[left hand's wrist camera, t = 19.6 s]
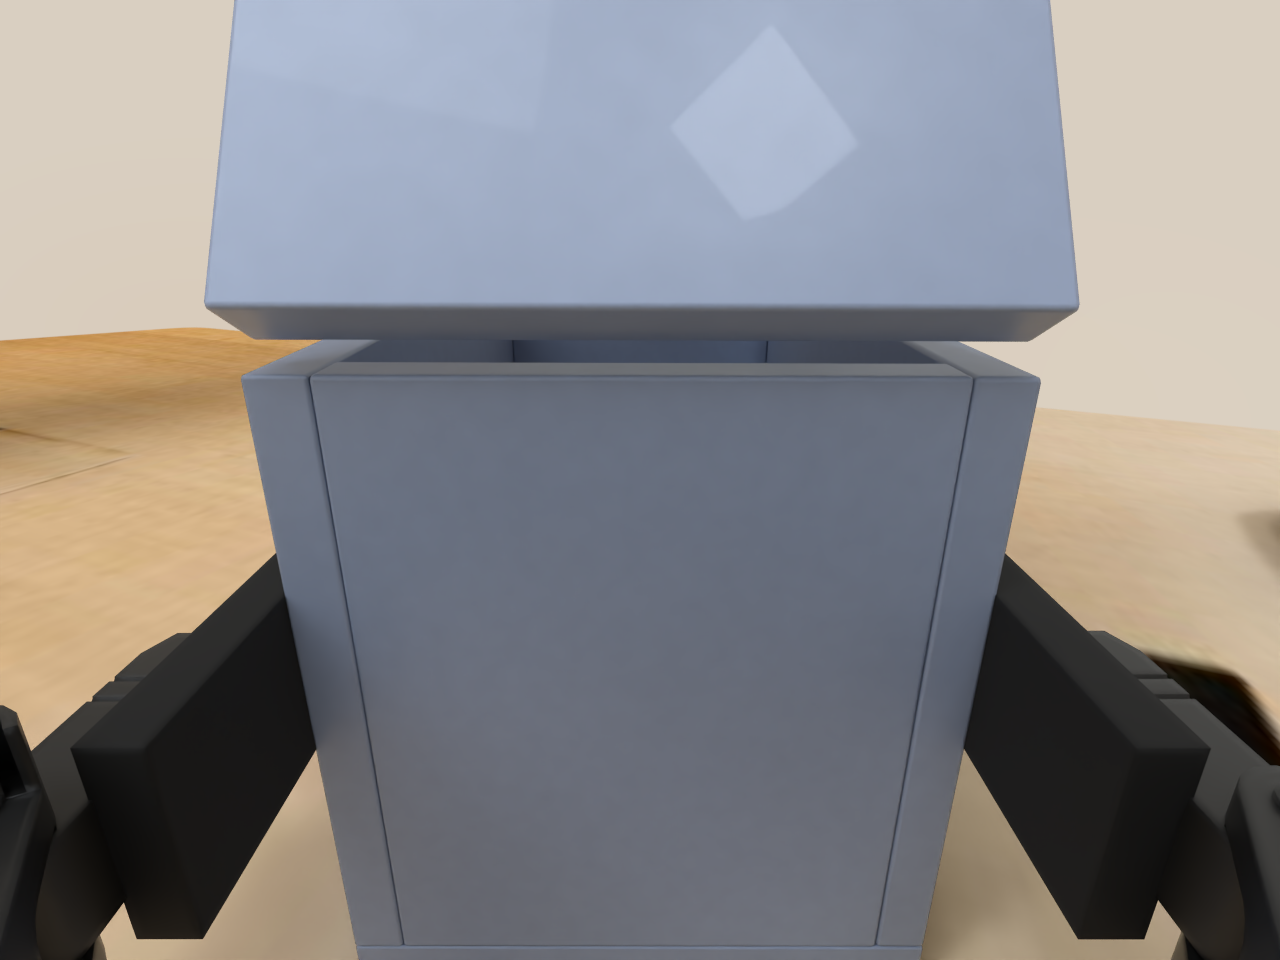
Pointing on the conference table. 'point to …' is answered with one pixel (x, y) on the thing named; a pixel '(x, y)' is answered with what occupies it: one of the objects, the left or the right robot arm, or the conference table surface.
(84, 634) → the conference table surface
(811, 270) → the lid
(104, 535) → the conference table surface
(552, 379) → the chest
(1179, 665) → the conference table surface
